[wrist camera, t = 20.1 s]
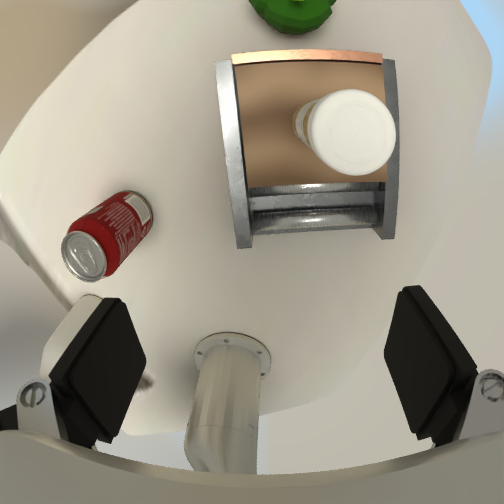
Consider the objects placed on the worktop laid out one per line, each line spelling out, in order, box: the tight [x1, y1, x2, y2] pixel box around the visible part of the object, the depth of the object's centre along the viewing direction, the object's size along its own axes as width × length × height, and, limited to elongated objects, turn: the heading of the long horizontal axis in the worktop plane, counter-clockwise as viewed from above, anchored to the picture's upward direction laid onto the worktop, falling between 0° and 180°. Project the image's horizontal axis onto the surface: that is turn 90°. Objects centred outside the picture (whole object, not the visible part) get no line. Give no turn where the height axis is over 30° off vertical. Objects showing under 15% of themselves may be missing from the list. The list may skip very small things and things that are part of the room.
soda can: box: [61, 191, 152, 282], centre depth 30 cm, size 7×7×12 cm
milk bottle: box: [37, 295, 102, 384], centre depth 34 cm, size 8×8×20 cm
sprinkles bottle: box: [292, 89, 396, 176], centre depth 19 cm, size 5×5×13 cm
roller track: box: [215, 50, 400, 249], centre depth 28 cm, size 20×18×5 cm
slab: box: [235, 61, 387, 188], centre depth 26 cm, size 12×14×2 cm
